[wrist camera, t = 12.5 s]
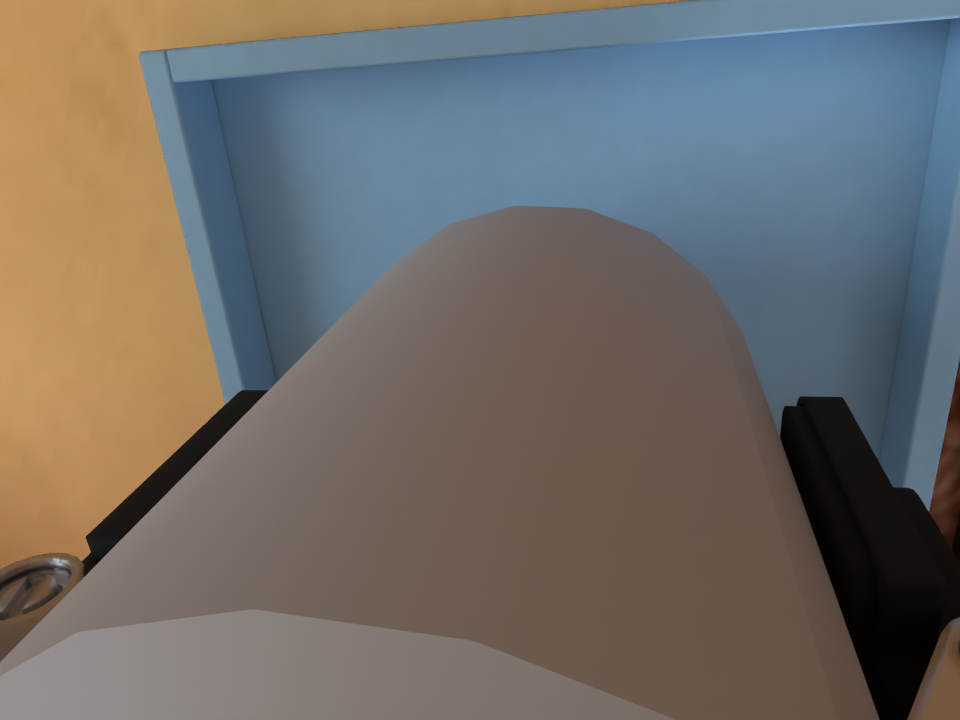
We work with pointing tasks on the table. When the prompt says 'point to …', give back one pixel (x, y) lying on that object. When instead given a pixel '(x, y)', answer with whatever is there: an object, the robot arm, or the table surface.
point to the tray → (601, 178)
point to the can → (476, 516)
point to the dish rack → (957, 542)
